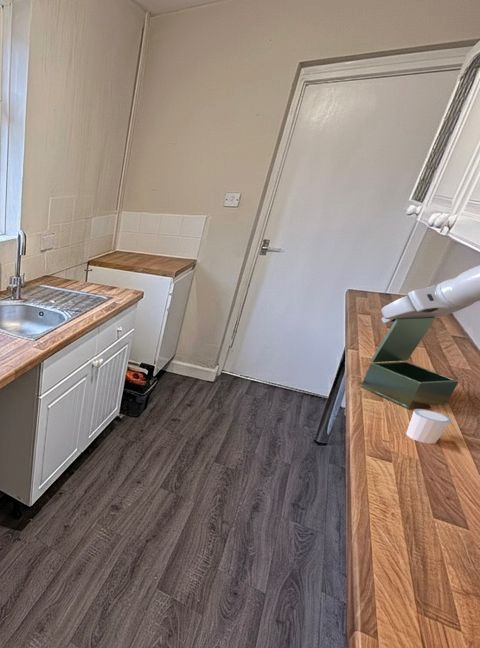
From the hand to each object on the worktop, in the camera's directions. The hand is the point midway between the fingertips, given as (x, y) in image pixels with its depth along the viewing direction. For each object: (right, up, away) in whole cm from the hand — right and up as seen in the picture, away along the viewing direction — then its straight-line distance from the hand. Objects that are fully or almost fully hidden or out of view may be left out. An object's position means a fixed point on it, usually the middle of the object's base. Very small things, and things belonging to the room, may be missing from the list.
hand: (394, 320), depth 131 cm
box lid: (0, -7, -2) cm, 7 cm away
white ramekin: (-15, -34, -21) cm, 43 cm away
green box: (+1, -24, -1) cm, 24 cm away
